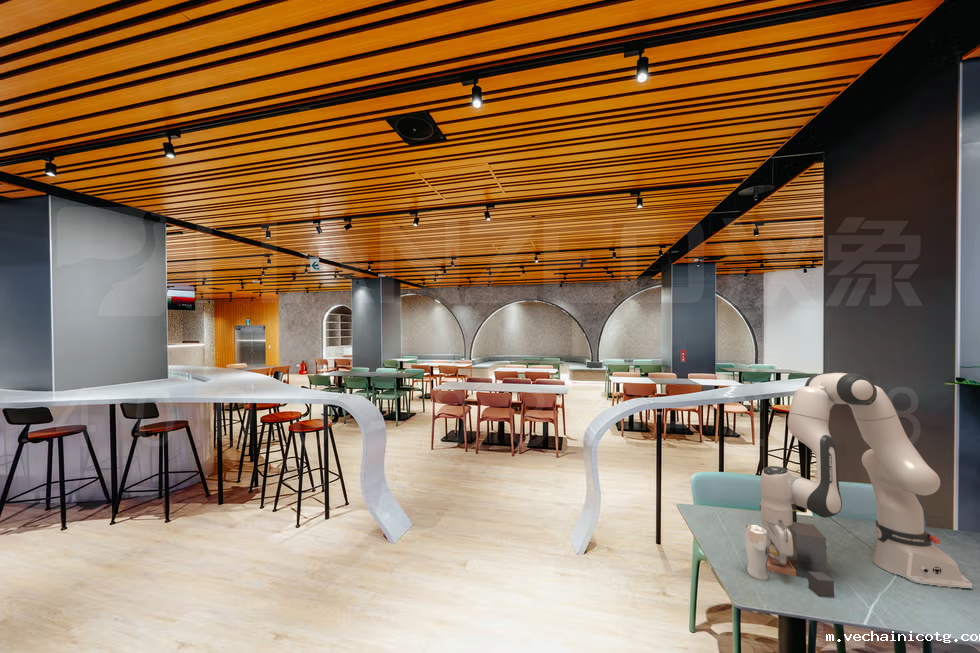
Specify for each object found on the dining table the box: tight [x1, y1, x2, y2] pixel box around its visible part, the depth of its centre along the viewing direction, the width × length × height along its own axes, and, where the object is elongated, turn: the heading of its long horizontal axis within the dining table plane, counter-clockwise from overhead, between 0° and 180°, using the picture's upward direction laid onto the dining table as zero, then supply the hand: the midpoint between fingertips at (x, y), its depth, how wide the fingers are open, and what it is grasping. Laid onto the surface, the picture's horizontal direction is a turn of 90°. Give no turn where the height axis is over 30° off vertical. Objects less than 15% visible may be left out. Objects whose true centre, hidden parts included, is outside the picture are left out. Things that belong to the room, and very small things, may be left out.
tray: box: [767, 554, 797, 577], centre depth 132 cm, size 8×8×2 cm
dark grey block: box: [787, 521, 828, 579], centre depth 130 cm, size 9×10×14 cm
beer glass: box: [743, 524, 770, 581], centre depth 128 cm, size 7×7×15 cm
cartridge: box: [769, 544, 786, 568], centre depth 132 cm, size 5×5×6 cm
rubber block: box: [807, 571, 835, 599], centre depth 119 cm, size 4×4×5 cm
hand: (777, 555), depth 132 cm, fingers open, 8 cm apart
